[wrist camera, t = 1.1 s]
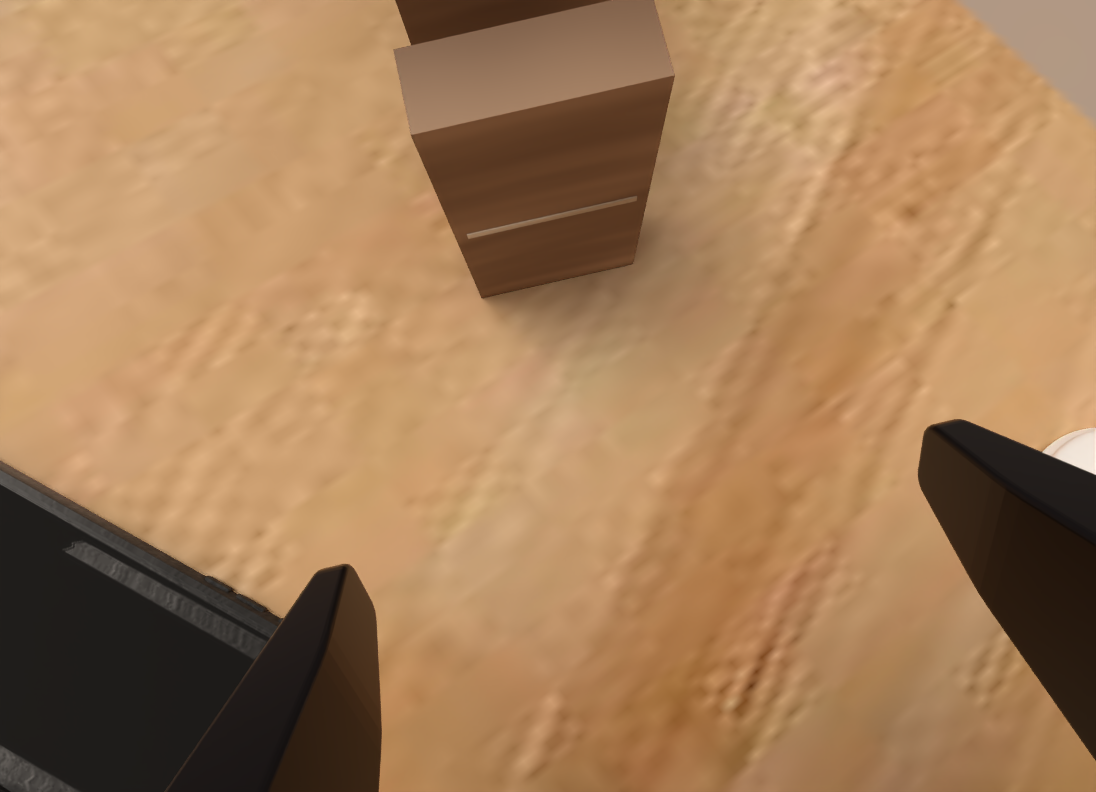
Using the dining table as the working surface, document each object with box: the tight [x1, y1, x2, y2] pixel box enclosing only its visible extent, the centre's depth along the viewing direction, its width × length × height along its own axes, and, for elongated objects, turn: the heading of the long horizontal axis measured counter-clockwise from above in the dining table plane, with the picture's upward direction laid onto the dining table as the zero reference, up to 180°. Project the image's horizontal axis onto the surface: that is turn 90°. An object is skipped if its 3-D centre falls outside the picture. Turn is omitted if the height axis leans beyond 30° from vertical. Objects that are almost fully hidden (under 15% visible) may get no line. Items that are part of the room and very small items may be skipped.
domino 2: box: [394, 0, 675, 298], centre depth 18 cm, size 2×5×10 cm, turn 103°
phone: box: [0, 461, 283, 792], centre depth 21 cm, size 8×1×15 cm
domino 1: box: [396, 0, 610, 45], centre depth 19 cm, size 2×5×10 cm, turn 102°
